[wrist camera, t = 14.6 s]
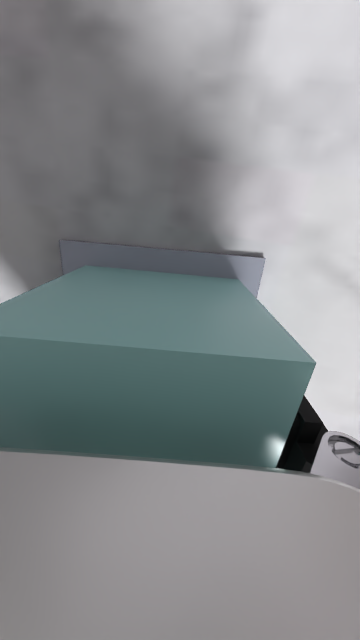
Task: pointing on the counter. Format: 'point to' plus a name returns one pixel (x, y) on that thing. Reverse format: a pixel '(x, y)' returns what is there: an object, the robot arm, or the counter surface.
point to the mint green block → (148, 368)
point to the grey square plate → (162, 261)
